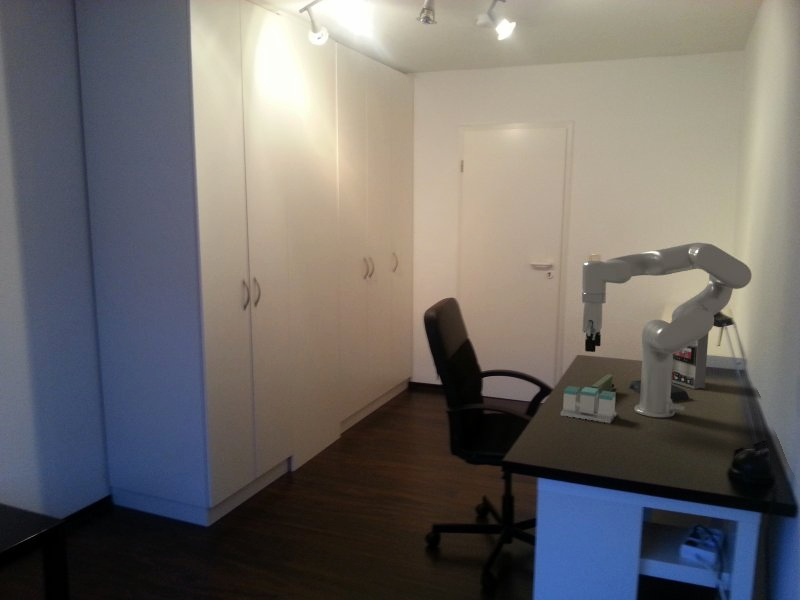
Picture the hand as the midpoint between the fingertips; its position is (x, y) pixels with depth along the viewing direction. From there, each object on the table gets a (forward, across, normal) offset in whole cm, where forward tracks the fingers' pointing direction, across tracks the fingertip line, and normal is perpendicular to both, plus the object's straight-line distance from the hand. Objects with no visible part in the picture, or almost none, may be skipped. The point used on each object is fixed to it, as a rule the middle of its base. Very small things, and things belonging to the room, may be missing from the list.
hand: (592, 348), depth 215 cm
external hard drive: (+23, -33, +18) cm, 45 cm away
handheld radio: (+22, -22, 0) cm, 31 cm away
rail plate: (+22, +5, 0) cm, 22 cm away
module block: (+20, +5, 0) cm, 21 cm away
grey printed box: (+23, -53, +26) cm, 64 cm away
